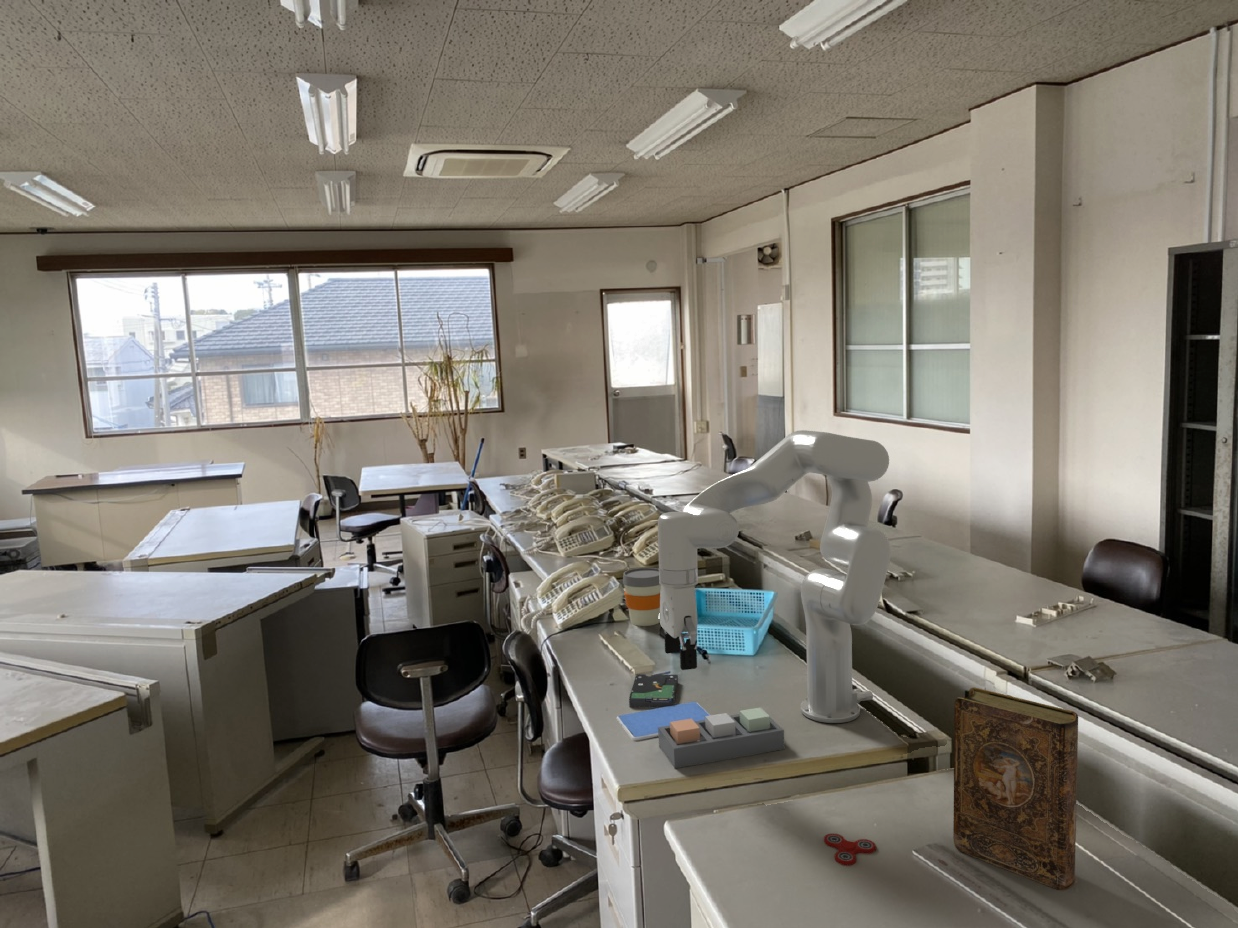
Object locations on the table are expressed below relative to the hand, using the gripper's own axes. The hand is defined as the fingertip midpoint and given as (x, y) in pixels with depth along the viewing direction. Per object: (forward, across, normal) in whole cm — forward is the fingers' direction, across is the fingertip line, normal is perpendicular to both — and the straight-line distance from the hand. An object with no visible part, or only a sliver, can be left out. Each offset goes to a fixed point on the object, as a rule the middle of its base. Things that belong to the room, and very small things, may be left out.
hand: (680, 660), depth 166 cm
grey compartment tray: (+19, +1, +8) cm, 20 cm away
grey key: (+15, +1, +8) cm, 17 cm away
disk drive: (+20, -30, +3) cm, 36 cm away
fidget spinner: (+20, +40, +15) cm, 47 cm away
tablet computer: (+20, -15, +1) cm, 25 cm away
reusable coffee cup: (+19, -84, +17) cm, 88 cm away
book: (+19, +51, +36) cm, 65 cm away
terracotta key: (+16, +1, 0) cm, 16 cm away
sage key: (+15, +1, +15) cm, 22 cm away
